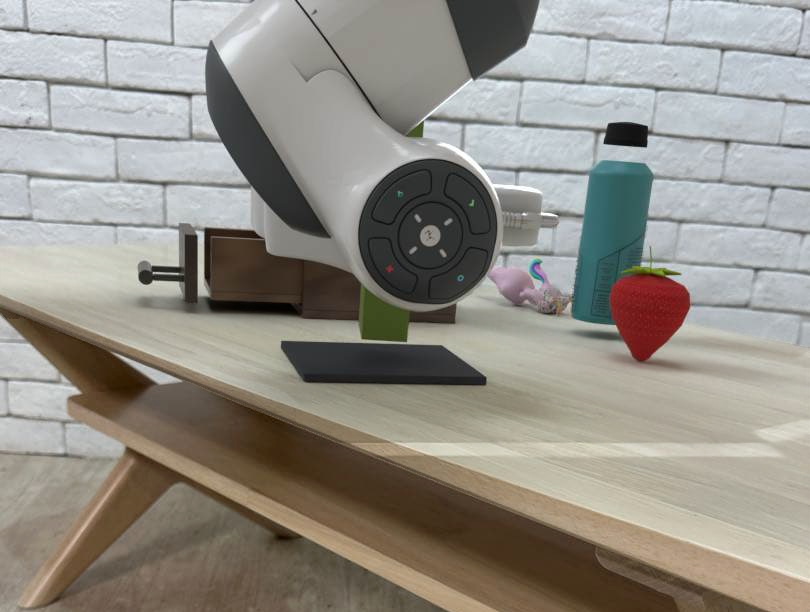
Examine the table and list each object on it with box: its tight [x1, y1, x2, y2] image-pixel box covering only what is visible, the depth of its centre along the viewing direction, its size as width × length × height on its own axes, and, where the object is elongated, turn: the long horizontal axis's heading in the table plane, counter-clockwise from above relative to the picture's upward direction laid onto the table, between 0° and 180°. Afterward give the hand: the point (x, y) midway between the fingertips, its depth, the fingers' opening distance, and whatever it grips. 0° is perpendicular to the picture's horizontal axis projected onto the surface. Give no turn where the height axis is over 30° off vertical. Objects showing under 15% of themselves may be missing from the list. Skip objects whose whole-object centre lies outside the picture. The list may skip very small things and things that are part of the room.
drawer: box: [136, 222, 304, 304], centre depth 100 cm, size 19×11×6 cm, turn 105°
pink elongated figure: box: [486, 258, 573, 317], centre depth 115 cm, size 6×6×15 cm
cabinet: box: [289, 261, 458, 324], centre depth 103 cm, size 16×13×8 cm
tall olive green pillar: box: [358, 119, 425, 343], centre depth 75 cm, size 4×6×16 cm, turn 5°
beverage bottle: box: [569, 121, 655, 326], centre depth 98 cm, size 6×7×20 cm
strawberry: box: [609, 245, 691, 362], centre depth 87 cm, size 6×8×10 cm
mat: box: [280, 340, 488, 386], centre depth 79 cm, size 14×12×1 cm
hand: (389, 199), depth 75 cm, fingers closed on tall olive green pillar, 3 cm apart
